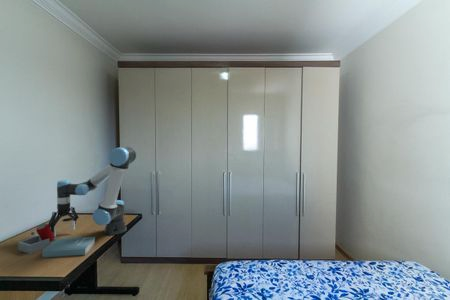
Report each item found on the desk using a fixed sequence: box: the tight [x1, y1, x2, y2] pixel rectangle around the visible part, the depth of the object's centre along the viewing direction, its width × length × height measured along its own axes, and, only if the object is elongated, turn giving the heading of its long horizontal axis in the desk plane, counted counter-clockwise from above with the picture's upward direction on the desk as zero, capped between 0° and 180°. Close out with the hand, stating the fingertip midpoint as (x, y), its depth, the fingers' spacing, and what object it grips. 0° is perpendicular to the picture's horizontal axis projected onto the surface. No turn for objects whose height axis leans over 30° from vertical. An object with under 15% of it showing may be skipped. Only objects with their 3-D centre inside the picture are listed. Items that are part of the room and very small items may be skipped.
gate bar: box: [30, 231, 42, 242], centre depth 160 cm, size 12×2×4 cm, turn 68°
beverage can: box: [36, 222, 56, 243], centre depth 154 cm, size 7×7×12 cm
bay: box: [17, 236, 59, 255], centre depth 149 cm, size 14×15×5 cm
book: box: [41, 236, 96, 258], centre depth 146 cm, size 23×16×5 cm
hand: (63, 232), depth 165 cm, fingers open, 13 cm apart
